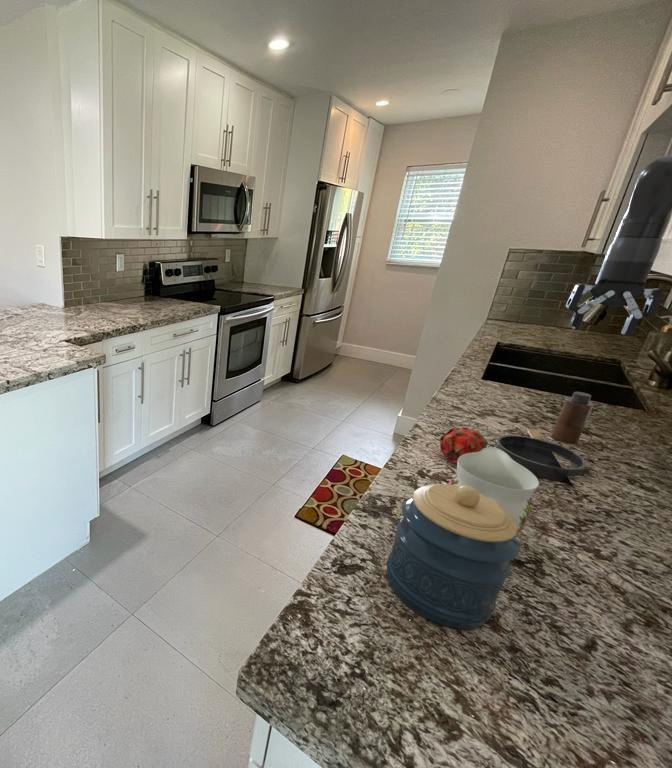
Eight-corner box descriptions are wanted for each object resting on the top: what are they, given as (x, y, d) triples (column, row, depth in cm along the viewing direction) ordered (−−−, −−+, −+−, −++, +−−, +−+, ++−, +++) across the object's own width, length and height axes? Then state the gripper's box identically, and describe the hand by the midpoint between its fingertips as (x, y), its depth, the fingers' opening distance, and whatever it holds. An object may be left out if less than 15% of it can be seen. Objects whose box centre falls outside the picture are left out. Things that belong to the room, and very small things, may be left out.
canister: (514, 619, 55) (563, 510, 49) (440, 643, 51) (482, 530, 45) (429, 550, 66) (460, 456, 60) (364, 566, 63) (389, 467, 57)
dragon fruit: (470, 459, 97) (448, 482, 91) (442, 430, 100) (419, 450, 94) (503, 443, 91) (482, 467, 84) (472, 413, 94) (450, 434, 87)
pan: (568, 459, 95) (573, 445, 94) (590, 492, 83) (597, 477, 82) (487, 442, 103) (492, 429, 101) (497, 470, 90) (502, 456, 89)
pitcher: (430, 557, 65) (454, 484, 60) (437, 501, 79) (457, 438, 74) (519, 591, 59) (553, 513, 54) (509, 524, 73) (536, 457, 68)
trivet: (585, 442, 103) (587, 439, 103) (603, 464, 94) (605, 460, 93) (525, 431, 109) (526, 427, 109) (535, 450, 99) (537, 446, 99)
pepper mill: (572, 441, 102) (592, 392, 97) (578, 449, 98) (600, 399, 93) (547, 436, 104) (566, 388, 100) (552, 443, 100) (572, 394, 96)
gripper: (591, 258, 90) (563, 330, 96) (685, 262, 83) (650, 339, 89) (579, 257, 96) (554, 324, 102) (667, 260, 89) (635, 332, 95)
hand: (599, 331), depth 95 cm, fingers open, 8 cm apart
